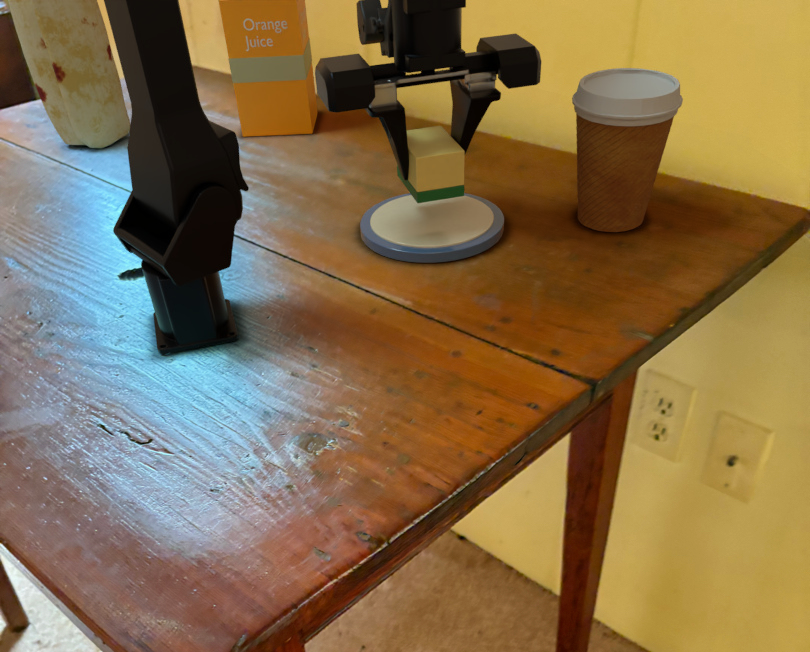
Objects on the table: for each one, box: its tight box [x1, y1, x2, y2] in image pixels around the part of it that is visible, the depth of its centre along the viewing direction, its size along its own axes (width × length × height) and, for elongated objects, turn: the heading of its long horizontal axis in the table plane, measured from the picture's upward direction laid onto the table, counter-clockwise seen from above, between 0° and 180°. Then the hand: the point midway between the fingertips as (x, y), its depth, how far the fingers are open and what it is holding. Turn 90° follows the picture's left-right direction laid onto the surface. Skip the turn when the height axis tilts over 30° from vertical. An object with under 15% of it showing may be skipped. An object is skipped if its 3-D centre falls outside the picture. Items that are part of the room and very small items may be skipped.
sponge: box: [396, 125, 466, 203], centre depth 74 cm, size 7×4×4 cm, turn 16°
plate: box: [359, 192, 505, 264], centre depth 78 cm, size 14×14×1 cm
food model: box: [7, 0, 131, 149], centre depth 93 cm, size 10×7×20 cm
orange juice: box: [218, 0, 319, 138], centre depth 95 cm, size 8×9×20 cm
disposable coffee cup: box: [571, 67, 684, 233], centre depth 74 cm, size 10×10×12 cm
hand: (430, 174), depth 75 cm, fingers closed on sponge, 4 cm apart
